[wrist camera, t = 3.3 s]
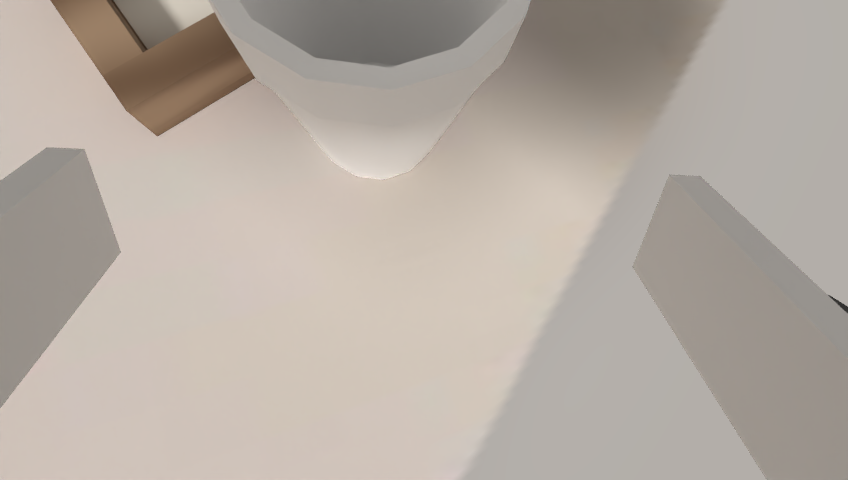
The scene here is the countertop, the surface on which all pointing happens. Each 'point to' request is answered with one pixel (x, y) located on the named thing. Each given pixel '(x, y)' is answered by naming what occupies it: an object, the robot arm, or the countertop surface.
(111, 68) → the square wooden frame
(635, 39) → the countertop surface
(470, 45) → the foam cup
